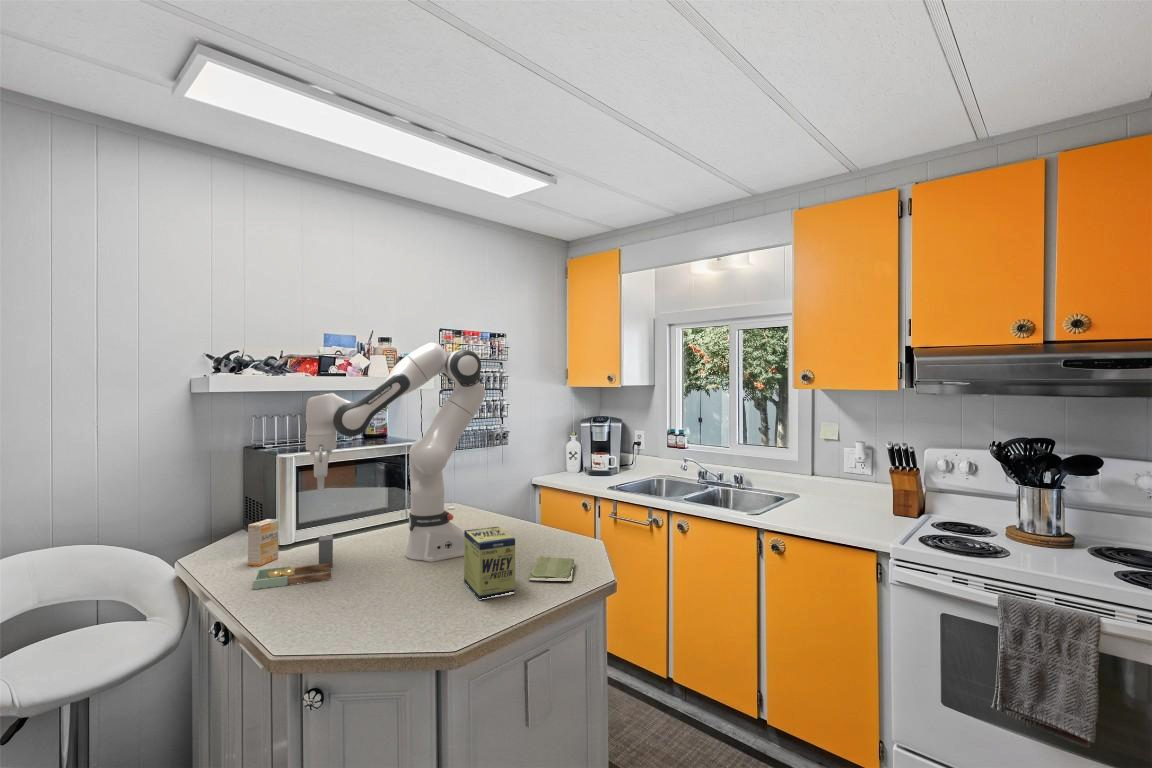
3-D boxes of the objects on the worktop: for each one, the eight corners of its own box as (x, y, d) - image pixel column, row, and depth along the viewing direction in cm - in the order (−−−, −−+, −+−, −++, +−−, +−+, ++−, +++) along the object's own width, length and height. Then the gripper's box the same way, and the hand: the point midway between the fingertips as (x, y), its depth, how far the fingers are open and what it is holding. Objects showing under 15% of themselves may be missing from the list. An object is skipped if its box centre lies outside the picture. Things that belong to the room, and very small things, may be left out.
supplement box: (260, 566, 174) (260, 525, 174) (247, 565, 175) (247, 524, 175) (279, 558, 182) (279, 519, 182) (266, 557, 183) (266, 518, 183)
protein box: (479, 601, 148) (479, 543, 148) (463, 582, 161) (463, 529, 161) (516, 594, 152) (516, 538, 152) (497, 577, 166) (497, 525, 166)
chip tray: (289, 574, 168) (289, 566, 168) (287, 585, 158) (287, 576, 158) (257, 578, 164) (257, 569, 164) (253, 589, 155) (253, 580, 155)
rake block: (332, 562, 179) (332, 534, 179) (332, 567, 174) (332, 539, 174) (319, 564, 177) (319, 536, 177) (318, 569, 172) (318, 540, 172)
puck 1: (282, 578, 164) (282, 568, 164) (281, 582, 161) (281, 572, 161) (268, 580, 162) (268, 570, 162) (267, 584, 159) (267, 574, 159)
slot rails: (331, 569, 172) (331, 562, 172) (331, 579, 163) (331, 572, 163) (289, 574, 168) (289, 567, 168) (287, 585, 158) (287, 578, 158)
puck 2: (295, 577, 165) (295, 567, 165) (295, 581, 162) (295, 570, 162) (282, 578, 164) (282, 568, 164) (281, 582, 161) (281, 572, 161)
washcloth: (527, 584, 162) (527, 573, 162) (536, 564, 179) (536, 554, 179) (571, 585, 161) (571, 574, 161) (576, 565, 178) (576, 555, 178)
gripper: (332, 446, 166) (331, 492, 166) (332, 440, 185) (331, 481, 185) (308, 447, 164) (308, 494, 164) (311, 440, 182) (311, 482, 183)
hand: (321, 487), depth 175 cm, fingers open, 8 cm apart
